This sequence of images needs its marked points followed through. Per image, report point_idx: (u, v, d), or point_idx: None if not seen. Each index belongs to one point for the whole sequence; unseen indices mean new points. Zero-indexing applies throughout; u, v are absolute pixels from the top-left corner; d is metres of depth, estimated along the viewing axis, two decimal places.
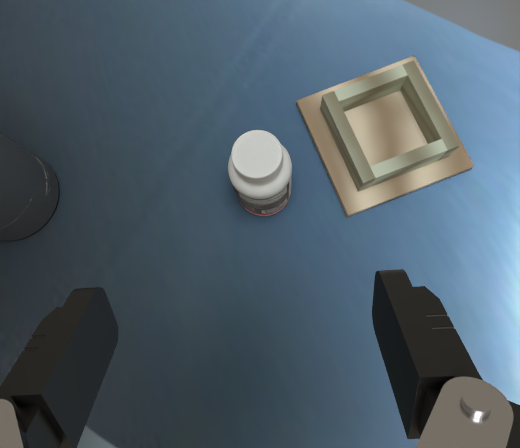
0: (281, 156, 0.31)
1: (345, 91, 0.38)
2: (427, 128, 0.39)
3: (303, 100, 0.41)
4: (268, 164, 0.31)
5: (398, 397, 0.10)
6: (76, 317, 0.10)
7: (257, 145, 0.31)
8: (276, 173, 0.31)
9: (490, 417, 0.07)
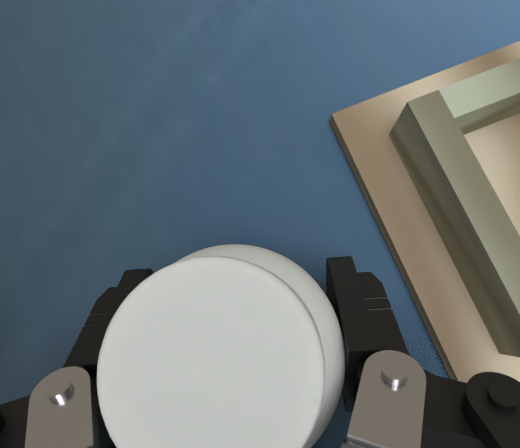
0: (320, 387, 0.07)
1: (470, 91, 0.14)
2: None
3: (348, 113, 0.17)
4: (261, 429, 0.07)
5: None
6: None
7: (212, 332, 0.07)
8: None
9: (404, 384, 0.08)
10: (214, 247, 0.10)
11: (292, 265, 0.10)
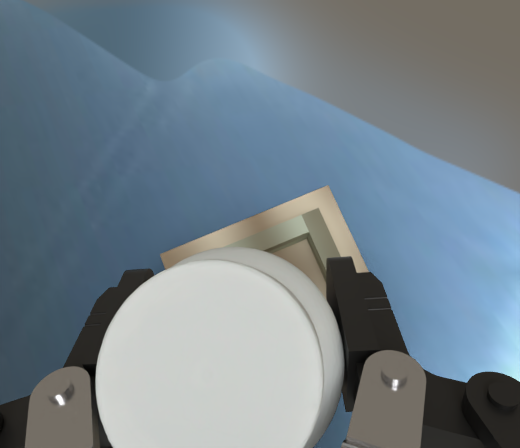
0: (319, 391, 0.07)
1: None
2: None
3: (169, 254, 0.29)
4: (259, 433, 0.07)
5: None
6: None
7: (211, 337, 0.07)
8: None
9: (404, 384, 0.08)
10: (213, 250, 0.10)
11: (291, 268, 0.10)
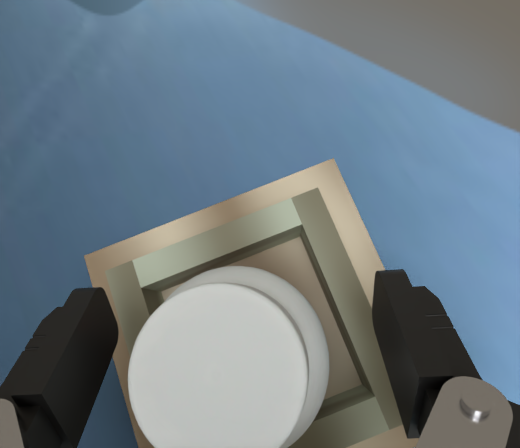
0: (304, 388, 0.09)
1: (157, 262, 0.17)
2: (349, 345, 0.17)
3: (98, 255, 0.20)
4: (257, 421, 0.08)
5: (398, 397, 0.10)
6: (76, 317, 0.10)
7: (219, 345, 0.09)
8: None
9: (489, 417, 0.07)
10: (220, 269, 0.12)
11: (285, 285, 0.11)
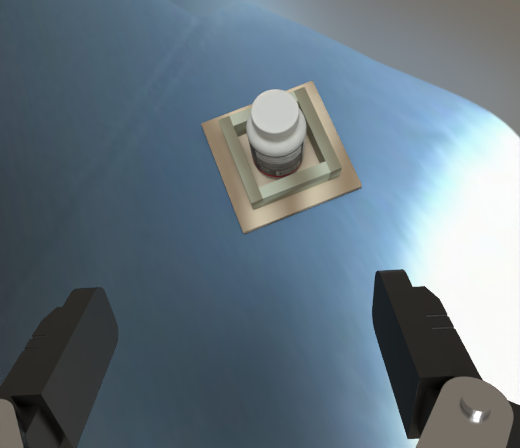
0: (298, 113, 0.33)
1: (239, 116, 0.41)
2: (317, 150, 0.41)
3: (207, 123, 0.44)
4: (285, 120, 0.33)
5: (398, 397, 0.10)
6: (76, 317, 0.10)
7: (275, 103, 0.33)
8: (292, 130, 0.34)
9: (490, 417, 0.07)
10: None
11: None
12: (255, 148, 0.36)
